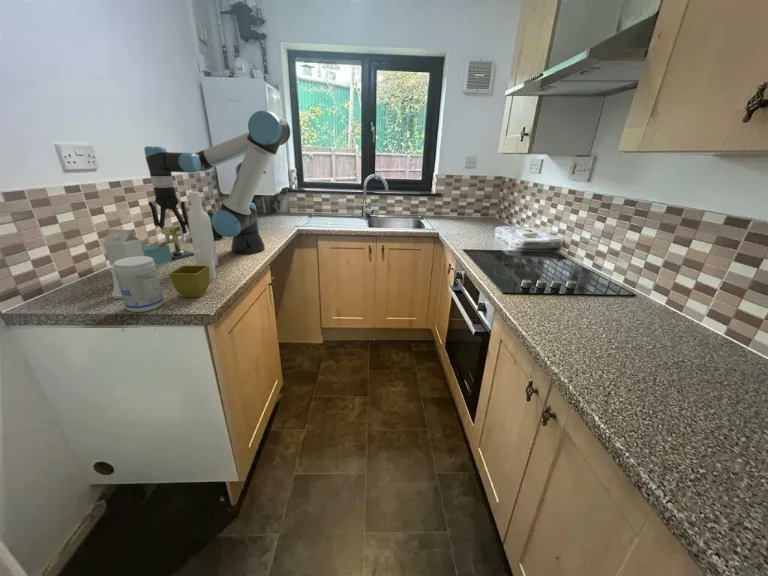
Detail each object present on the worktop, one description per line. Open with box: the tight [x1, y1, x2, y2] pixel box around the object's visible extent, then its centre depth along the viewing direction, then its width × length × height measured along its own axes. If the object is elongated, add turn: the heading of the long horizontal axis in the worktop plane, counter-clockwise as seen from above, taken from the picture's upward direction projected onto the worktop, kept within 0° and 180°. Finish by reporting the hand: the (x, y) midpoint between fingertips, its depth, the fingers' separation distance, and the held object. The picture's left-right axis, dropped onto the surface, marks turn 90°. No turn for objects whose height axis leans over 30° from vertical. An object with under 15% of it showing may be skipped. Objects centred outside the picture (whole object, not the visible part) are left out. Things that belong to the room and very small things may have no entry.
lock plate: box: [170, 249, 194, 261], centre depth 143 cm, size 9×9×2 cm
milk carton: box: [103, 228, 144, 266], centre depth 111 cm, size 7×7×19 cm
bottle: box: [188, 191, 219, 268], centre depth 127 cm, size 8×8×30 cm
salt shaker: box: [108, 264, 123, 299], centre depth 102 cm, size 8×8×10 cm
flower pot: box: [168, 264, 211, 298], centre depth 104 cm, size 9×9×9 cm
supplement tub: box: [113, 256, 165, 313], centre depth 94 cm, size 10×10×15 cm
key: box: [156, 224, 181, 251], centre depth 138 cm, size 4×14×11 cm, turn 174°
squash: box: [206, 211, 224, 241], centre depth 174 cm, size 14×15×15 cm
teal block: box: [141, 242, 173, 266], centre depth 134 cm, size 8×9×7 cm
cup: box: [192, 248, 217, 281], centre depth 117 cm, size 7×7×11 cm
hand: (176, 240), depth 141 cm, fingers closed on key, 6 cm apart
